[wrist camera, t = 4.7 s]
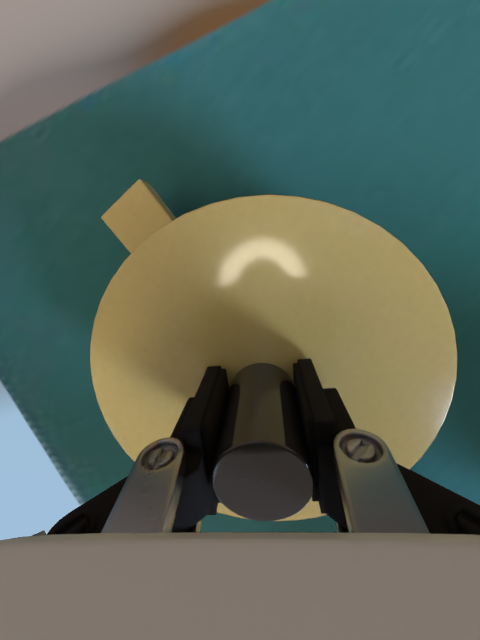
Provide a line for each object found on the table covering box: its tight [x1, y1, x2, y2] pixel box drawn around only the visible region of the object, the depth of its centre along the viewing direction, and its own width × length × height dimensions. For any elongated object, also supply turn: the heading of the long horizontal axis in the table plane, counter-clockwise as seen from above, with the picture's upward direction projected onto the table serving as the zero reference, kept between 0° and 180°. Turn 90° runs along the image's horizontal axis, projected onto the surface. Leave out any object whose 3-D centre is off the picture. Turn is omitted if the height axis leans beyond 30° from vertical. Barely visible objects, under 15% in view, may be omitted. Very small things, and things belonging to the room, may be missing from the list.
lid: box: [90, 194, 457, 521], centre depth 10 cm, size 16×16×6 cm
